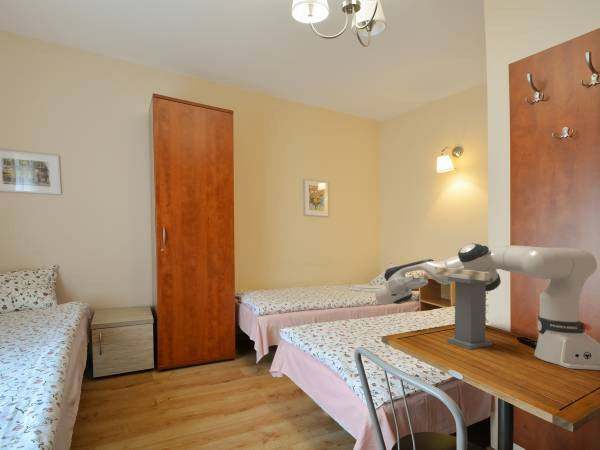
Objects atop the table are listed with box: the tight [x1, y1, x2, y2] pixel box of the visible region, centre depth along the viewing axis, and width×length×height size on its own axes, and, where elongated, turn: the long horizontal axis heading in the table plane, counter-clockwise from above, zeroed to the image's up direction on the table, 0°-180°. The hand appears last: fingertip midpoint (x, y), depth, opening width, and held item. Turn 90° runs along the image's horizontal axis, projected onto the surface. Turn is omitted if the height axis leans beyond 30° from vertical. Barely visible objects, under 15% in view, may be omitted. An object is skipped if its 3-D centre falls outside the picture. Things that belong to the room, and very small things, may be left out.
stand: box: [446, 274, 494, 350], centre depth 138 cm, size 10×14×27 cm
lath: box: [435, 267, 490, 281], centre depth 139 cm, size 22×3×3 cm, turn 28°
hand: (420, 276), depth 156 cm, fingers open, 8 cm apart
